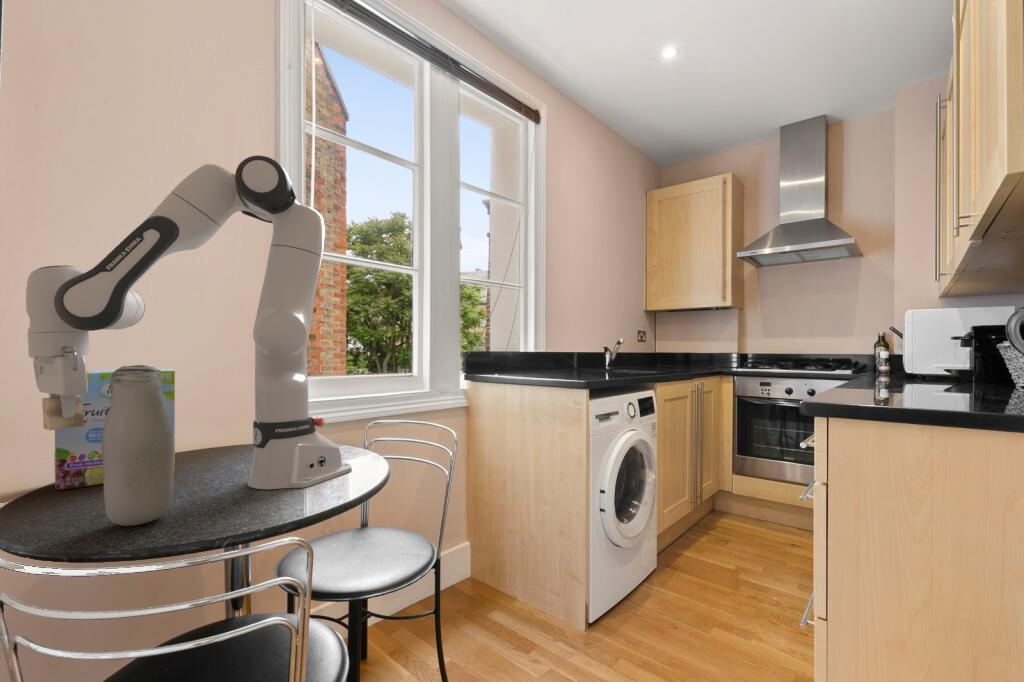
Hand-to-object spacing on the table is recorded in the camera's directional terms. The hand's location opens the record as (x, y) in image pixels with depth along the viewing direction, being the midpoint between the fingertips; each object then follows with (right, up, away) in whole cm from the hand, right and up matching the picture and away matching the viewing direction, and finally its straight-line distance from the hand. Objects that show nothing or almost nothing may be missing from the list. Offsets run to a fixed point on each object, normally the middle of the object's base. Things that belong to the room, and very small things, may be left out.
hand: (63, 416), depth 95 cm
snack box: (-3, -18, +17) cm, 25 cm away
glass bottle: (+24, -17, -11) cm, 32 cm away
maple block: (0, -2, 0) cm, 2 cm away
